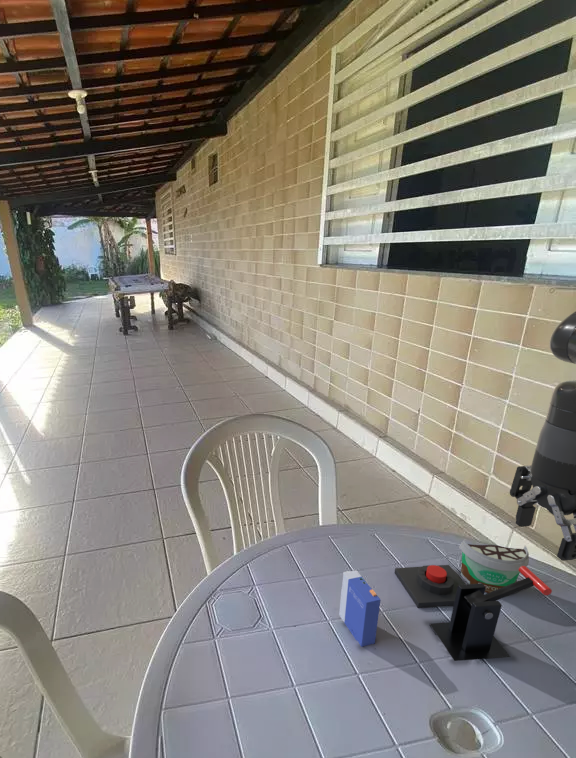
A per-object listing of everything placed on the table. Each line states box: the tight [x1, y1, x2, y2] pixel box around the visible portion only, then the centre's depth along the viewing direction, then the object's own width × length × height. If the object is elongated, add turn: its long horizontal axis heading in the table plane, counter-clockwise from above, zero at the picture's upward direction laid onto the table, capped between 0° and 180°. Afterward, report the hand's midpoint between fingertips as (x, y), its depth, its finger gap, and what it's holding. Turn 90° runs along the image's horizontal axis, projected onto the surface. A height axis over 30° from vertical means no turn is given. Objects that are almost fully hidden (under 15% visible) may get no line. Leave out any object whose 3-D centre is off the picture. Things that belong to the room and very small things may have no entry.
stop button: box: [426, 564, 447, 584], centre depth 88 cm, size 4×4×2 cm
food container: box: [458, 539, 530, 594], centre depth 87 cm, size 12×6×10 cm, turn 76°
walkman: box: [338, 569, 381, 648], centre depth 79 cm, size 8×3×12 cm, turn 11°
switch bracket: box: [428, 583, 512, 662], centre depth 75 cm, size 10×8×12 cm
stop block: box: [393, 564, 467, 609], centre depth 89 cm, size 12×10×4 cm
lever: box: [464, 566, 553, 609], centre depth 73 cm, size 12×6×2 cm, turn 92°
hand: (542, 540), depth 68 cm, fingers open, 8 cm apart
